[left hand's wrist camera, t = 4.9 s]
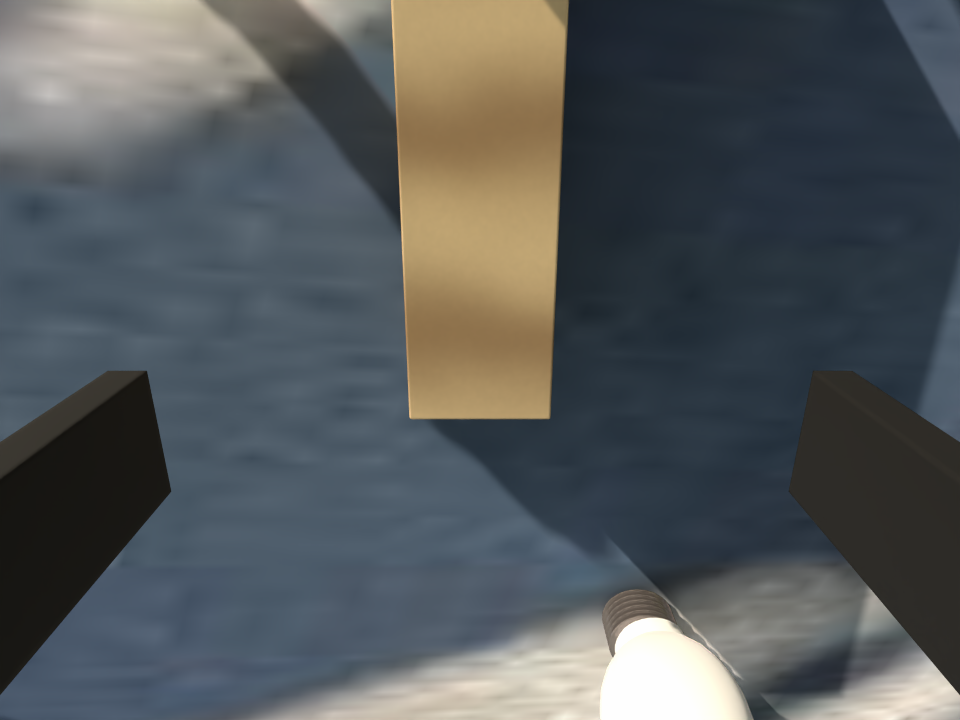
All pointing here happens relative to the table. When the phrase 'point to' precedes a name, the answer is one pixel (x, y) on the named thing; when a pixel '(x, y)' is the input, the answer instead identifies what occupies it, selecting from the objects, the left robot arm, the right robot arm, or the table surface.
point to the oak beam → (480, 201)
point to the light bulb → (662, 667)
